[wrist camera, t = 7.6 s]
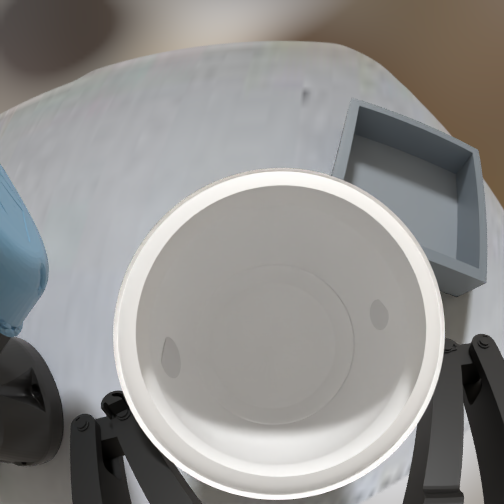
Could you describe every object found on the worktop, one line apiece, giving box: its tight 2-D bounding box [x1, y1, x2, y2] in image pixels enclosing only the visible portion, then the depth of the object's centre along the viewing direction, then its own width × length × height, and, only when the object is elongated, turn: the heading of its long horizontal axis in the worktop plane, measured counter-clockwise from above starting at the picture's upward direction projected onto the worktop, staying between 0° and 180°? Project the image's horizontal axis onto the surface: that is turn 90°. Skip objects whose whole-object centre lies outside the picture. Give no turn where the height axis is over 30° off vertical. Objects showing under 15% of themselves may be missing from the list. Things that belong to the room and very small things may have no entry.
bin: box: [331, 98, 487, 297], centre depth 25 cm, size 16×16×5 cm
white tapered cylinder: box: [113, 168, 445, 500], centre depth 15 cm, size 11×10×15 cm
